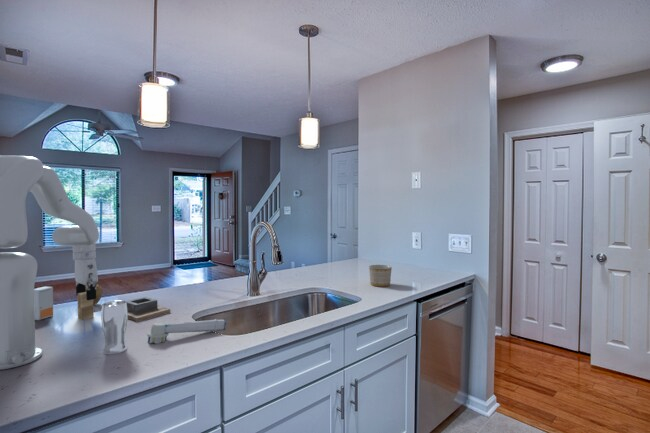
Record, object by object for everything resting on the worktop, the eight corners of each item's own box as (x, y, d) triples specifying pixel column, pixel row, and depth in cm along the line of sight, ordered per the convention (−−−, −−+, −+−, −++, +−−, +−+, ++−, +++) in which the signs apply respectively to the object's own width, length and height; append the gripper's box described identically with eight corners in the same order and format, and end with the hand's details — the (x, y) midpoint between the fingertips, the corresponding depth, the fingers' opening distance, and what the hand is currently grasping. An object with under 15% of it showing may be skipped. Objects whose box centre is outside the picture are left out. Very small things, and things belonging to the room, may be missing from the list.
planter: (366, 286, 191) (367, 267, 190) (371, 281, 202) (371, 264, 202) (389, 288, 187) (390, 269, 186) (392, 283, 199) (393, 265, 198)
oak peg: (93, 317, 138) (93, 292, 138) (82, 319, 135) (81, 294, 135) (89, 315, 141) (88, 291, 140) (78, 318, 137) (77, 293, 137)
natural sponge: (78, 310, 147) (77, 287, 147) (78, 305, 155) (77, 283, 154) (103, 306, 153) (103, 284, 152) (102, 301, 160) (101, 280, 160)
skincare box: (39, 320, 134) (38, 290, 134) (30, 319, 135) (29, 289, 135) (54, 315, 140) (53, 286, 140) (45, 315, 141) (44, 286, 141)
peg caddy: (170, 312, 144) (170, 300, 144) (136, 321, 133) (136, 309, 133) (145, 304, 156) (145, 293, 156) (112, 312, 144) (112, 300, 144)
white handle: (227, 321, 123) (149, 323, 111) (224, 339, 123) (146, 344, 110) (223, 317, 128) (148, 319, 115) (221, 335, 127) (146, 338, 115)
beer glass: (123, 344, 112) (122, 298, 111) (132, 349, 107) (131, 302, 107) (98, 351, 107) (97, 303, 106) (107, 357, 102) (105, 307, 102)
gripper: (104, 256, 135) (106, 298, 136) (85, 251, 145) (87, 291, 146) (82, 259, 129) (84, 303, 130) (64, 254, 139) (66, 295, 140)
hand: (86, 297), depth 138 cm, fingers open, 9 cm apart
